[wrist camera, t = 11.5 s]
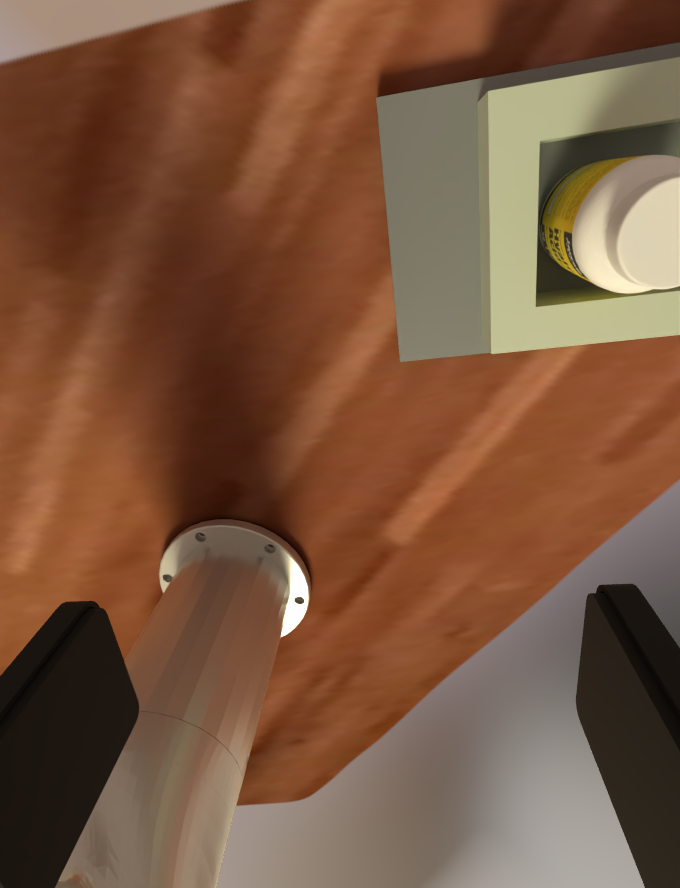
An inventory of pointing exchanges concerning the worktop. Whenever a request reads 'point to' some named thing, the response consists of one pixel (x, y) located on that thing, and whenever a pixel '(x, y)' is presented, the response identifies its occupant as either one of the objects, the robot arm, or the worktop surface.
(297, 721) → the worktop surface
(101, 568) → the worktop surface
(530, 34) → the worktop surface
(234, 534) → the robot arm
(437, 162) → the socket board
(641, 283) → the supplement bottle
